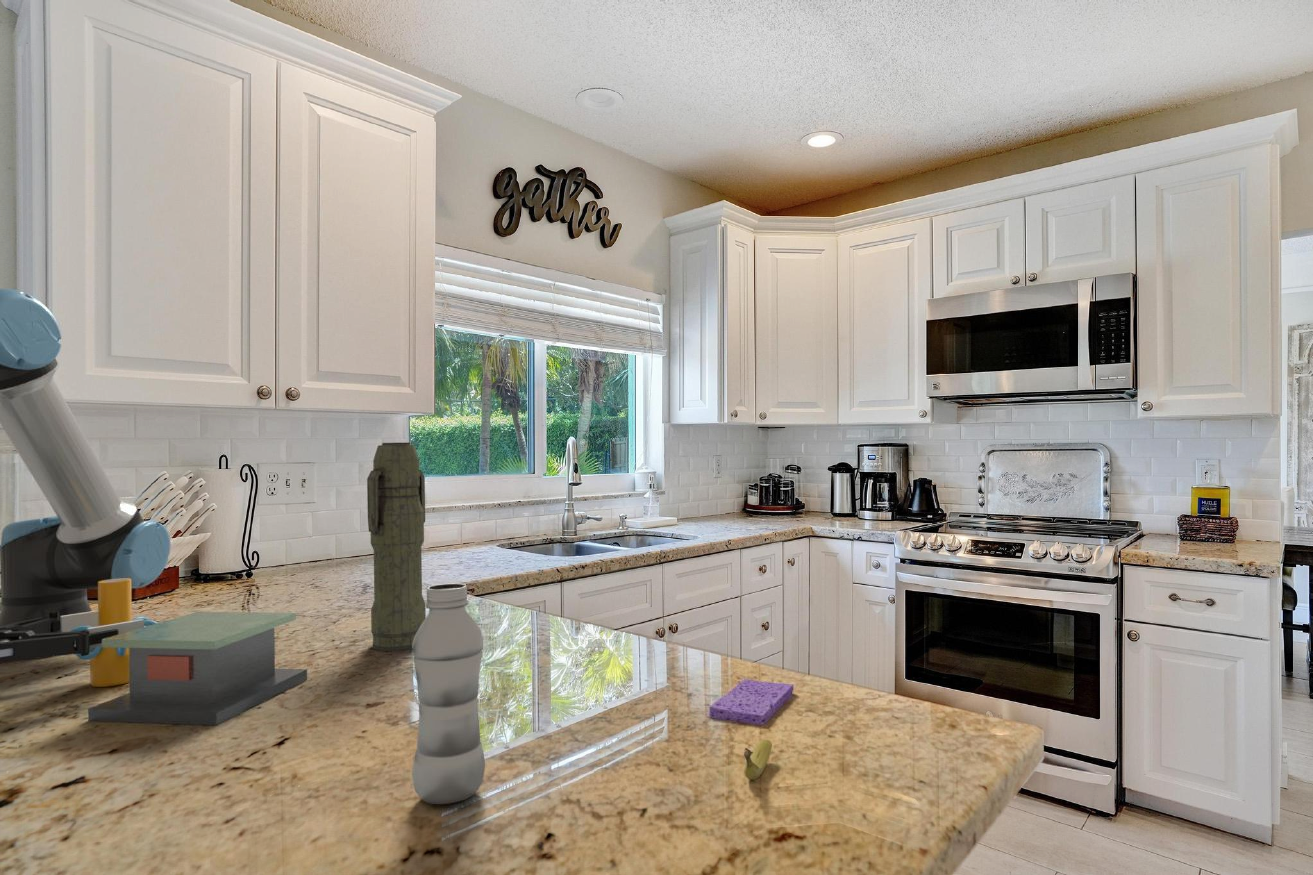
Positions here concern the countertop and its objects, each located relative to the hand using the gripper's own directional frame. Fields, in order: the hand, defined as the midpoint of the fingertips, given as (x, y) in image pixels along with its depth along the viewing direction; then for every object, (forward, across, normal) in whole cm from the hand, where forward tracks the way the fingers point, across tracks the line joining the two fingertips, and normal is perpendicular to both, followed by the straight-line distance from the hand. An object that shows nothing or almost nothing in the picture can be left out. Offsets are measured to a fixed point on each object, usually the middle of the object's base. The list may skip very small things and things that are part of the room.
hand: (128, 622), depth 110 cm
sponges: (+44, +82, -9) cm, 94 cm away
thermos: (+35, +17, -9) cm, 40 cm away
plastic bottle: (+6, +72, -9) cm, 73 cm away
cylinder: (-1, 0, -9) cm, 9 cm away
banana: (+27, +93, -9) cm, 97 cm away
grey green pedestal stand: (+3, +20, -8) cm, 22 cm away
